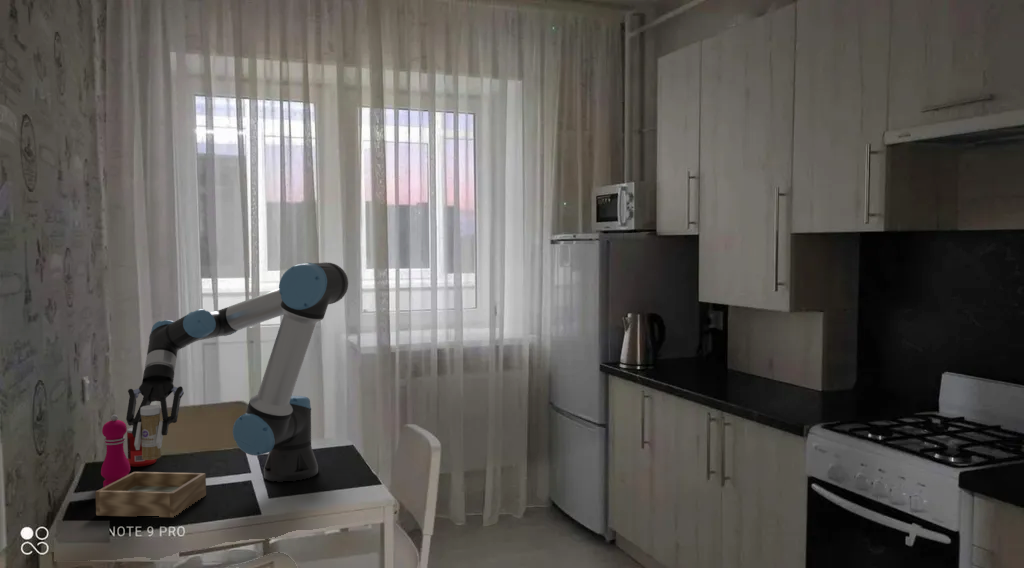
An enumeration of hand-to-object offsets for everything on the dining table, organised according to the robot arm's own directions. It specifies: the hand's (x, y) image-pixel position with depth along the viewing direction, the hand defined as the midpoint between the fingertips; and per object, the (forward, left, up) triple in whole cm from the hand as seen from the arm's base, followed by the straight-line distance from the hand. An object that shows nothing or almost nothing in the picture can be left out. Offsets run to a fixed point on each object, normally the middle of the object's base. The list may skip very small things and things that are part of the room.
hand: (147, 446), depth 183 cm
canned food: (+25, -38, -16) cm, 48 cm away
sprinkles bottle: (+1, -4, -4) cm, 6 cm away
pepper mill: (+20, -17, -16) cm, 31 cm away
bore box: (+1, -3, -16) cm, 16 cm away
